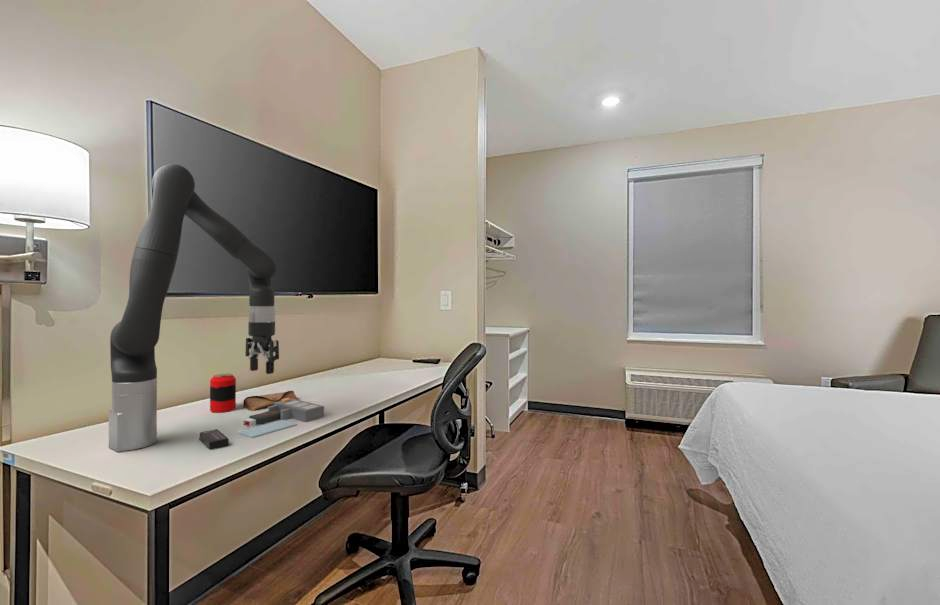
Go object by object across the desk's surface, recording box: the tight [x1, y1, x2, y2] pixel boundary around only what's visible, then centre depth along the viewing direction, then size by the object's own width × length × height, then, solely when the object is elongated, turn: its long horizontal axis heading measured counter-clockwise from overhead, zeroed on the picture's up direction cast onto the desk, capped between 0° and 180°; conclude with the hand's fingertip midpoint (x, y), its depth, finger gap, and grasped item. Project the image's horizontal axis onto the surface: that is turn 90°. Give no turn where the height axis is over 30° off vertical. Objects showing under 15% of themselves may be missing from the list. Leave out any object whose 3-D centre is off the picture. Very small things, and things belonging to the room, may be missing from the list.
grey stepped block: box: [267, 398, 325, 423], centre depth 137 cm, size 10×17×4 cm, turn 58°
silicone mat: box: [238, 419, 297, 439], centre depth 123 cm, size 14×7×1 cm, turn 148°
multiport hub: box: [198, 428, 229, 451], centre depth 112 cm, size 4×11×2 cm, turn 45°
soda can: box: [209, 373, 237, 414], centre depth 142 cm, size 8×8×12 cm
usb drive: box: [242, 409, 281, 428], centre depth 131 cm, size 5×12×3 cm, turn 150°
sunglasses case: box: [242, 390, 299, 412], centre depth 150 cm, size 18×7×7 cm, turn 135°
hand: (261, 372), depth 130 cm, fingers open, 8 cm apart
